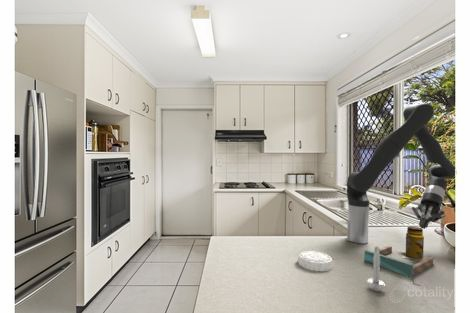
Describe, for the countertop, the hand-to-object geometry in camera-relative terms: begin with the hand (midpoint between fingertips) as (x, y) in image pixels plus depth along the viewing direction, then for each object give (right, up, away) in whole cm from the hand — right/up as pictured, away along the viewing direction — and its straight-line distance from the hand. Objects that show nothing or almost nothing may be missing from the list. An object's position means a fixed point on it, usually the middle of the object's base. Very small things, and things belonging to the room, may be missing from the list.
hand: (422, 227), depth 114 cm
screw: (-39, -9, -35) cm, 53 cm away
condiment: (-9, -11, -6) cm, 15 cm away
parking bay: (-19, -10, -13) cm, 25 cm away
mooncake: (-52, -9, -17) cm, 56 cm away
